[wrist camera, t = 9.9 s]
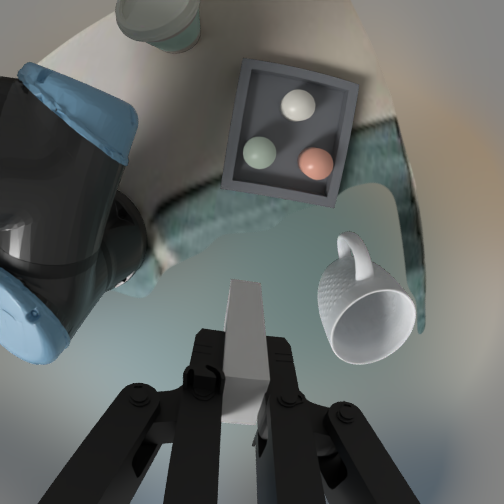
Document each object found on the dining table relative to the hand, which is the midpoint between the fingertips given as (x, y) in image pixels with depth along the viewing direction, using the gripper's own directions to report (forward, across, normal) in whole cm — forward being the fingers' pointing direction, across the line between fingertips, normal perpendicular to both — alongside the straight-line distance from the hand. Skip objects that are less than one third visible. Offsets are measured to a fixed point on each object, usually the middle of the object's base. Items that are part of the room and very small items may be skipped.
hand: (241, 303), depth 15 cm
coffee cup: (+25, -12, +21) cm, 35 cm away
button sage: (+23, +1, +6) cm, 24 cm away
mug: (+25, +16, -8) cm, 30 cm away
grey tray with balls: (+24, +4, +10) cm, 26 cm away
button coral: (+23, +7, +6) cm, 25 cm away
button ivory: (+23, +4, +13) cm, 26 cm away
